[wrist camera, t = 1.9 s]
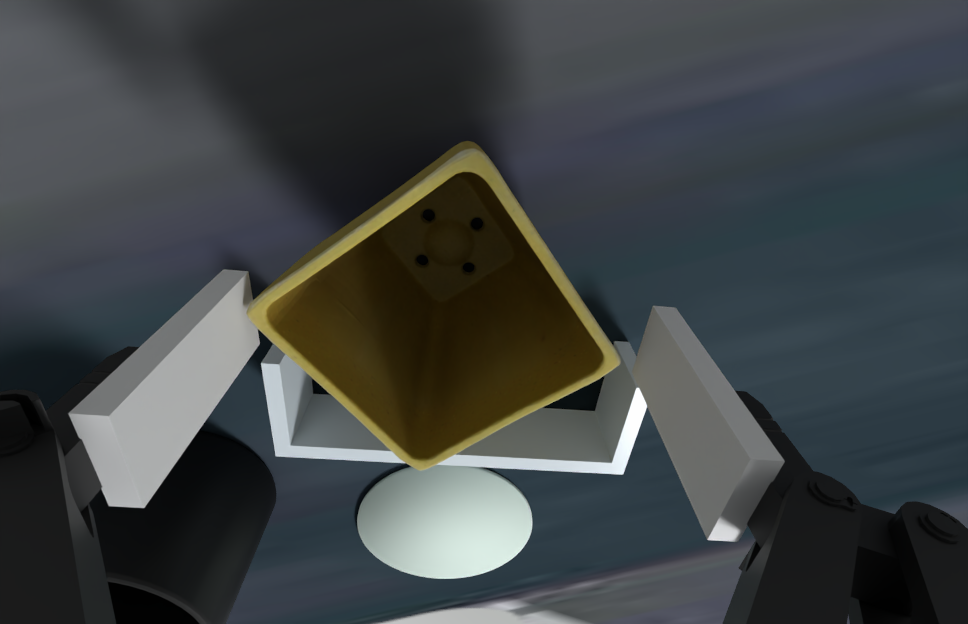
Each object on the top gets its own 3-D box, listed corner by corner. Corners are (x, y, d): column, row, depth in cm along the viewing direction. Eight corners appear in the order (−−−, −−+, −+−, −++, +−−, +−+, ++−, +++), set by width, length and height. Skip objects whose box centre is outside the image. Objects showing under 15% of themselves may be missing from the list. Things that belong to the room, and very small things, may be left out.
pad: (360, 571, 36) (359, 575, 36) (355, 457, 30) (354, 460, 30) (519, 577, 37) (519, 581, 37) (544, 467, 31) (545, 470, 31)
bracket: (300, 403, 28) (275, 456, 24) (290, 317, 25) (260, 363, 21) (604, 422, 29) (623, 474, 26) (628, 341, 26) (652, 388, 23)
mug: (55, 424, 28) (-105, 574, 20) (264, 427, 29) (186, 575, 21) (111, 527, 33) (-2, 682, 25) (289, 528, 33) (233, 680, 26)
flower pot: (475, 99, 20) (478, 140, 12) (576, 258, 24) (627, 368, 16) (318, 215, 22) (236, 312, 14) (432, 344, 26) (416, 476, 18)
